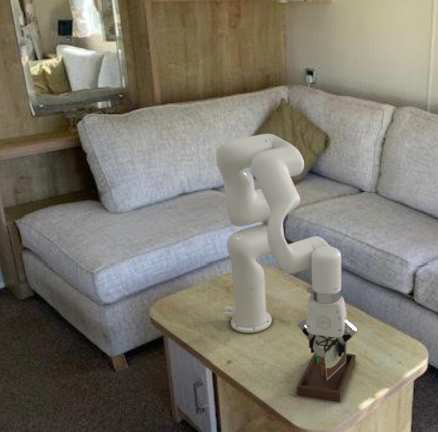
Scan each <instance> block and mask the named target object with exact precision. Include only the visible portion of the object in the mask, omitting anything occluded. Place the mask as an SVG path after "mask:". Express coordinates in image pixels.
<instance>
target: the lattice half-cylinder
mask: <svg viewBox="0 0 438 432" xmlns="http://www.w3.org/2000/svg"><path fill="white" fill-rule="evenodd" d="M348 332H349V330H348V329H347V328H346V329H345V334H347V333H348ZM339 342H340V341H339V339H338V338H337V337H328V336H321V335H316V338H315V340H314V343H313V350H314V353H316V357H317V365H318V373H319V375H320V376H321V377H322V378H323V379H325V380H328V379H329V378H330V377H331V376H332V375H333V374H334V373H335V372H336V371H337V370H339V369H340V368H341V367H342V366H343V365H344V364H345V363H346V353H347V349H348V348H347V347H348V341H347V342H346V350H345V353H343V354H342V356H341V357H339V356H338V344H339Z"/></svg>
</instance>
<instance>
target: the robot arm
mask: <svg viewBox="0 0 438 432" xmlns="http://www.w3.org/2000/svg"><path fill="white" fill-rule="evenodd" d="M215 158H216V164H217V168H218V170H219V173H220V176H221V177H222V181H223V185H224V186H223V187H224V194H225V201H226V202H225V203H226V208H227V209H226V210H227V215H228V219H229V221H230V223H231V224H232V226H234V227H246V226H249V227H246V228H242V229H240V230H237V231H235V232H233V233H231V234H230V235H229V236H228V238H227V241H226V250H227V253H228V256H229V260H230V265H231V266H230V267H231V274H232V287H233V299H234V301H233V302H234V306H227V305H224V307H223V312H224V314H223V315H224V317H225V316H226V317H231V320H230V326H231V327H232V328H233V330H235V331H237V332H239V333H244V334H253V333H258V332H259V333H260V332H262V331H264V330H266V329H267V328H269V327H270V326H271V324H272V321H273V320H272V315H271V314H270V313H269V312H268V311H267V302H266V301H267V300H266V299H267V297H266V280H265V279H266V277H265V270H264V268H263V266H262V265H261V264H260V263H258V259H260V258H262V257H265V256H269V255H271V254H272V256H273V258H274V260H275V262H276V264H277V266H278V267H279V269H280V270H281V271H282V272H283V273H285V274H288V275H293V274H297V273H299V272H302V271H305V270H307V269H310V268H311V286H308V287H307V288H306V293H308V294H310V296H309V298H308V302H307V310H306V316H305V317H304V318H301V320H299V321H298V323H297V325H296V326H297V327H298V329H300V330H301V331H302V333H303V335H304V336H305V337H306V338H307V340H308V348H309V349H310V354H314V353H315V352H314V350H313V343H314V340H315V338H316V336H317V335H321V336H328V337H337V338H338V339H339V341H340V342H339V344H338V356H339V357H341V356H342V354H343V353H345V350H346V351H347V349H346V342H347V343H348V341H349V340H350V339H352V337H353V336H355V335H356V334H357V332H358V329H357V327H355V326H354V325H353V324H352V323H351V322H350V321H348V319H347V318H348V317H347V307H346V302H345V299H344V296H342V253H341V251H340V250H339V249H338V248H336V247H334V246H331V245H329V243H328V242H327V241H326V240H325V239H324V238H322V237H321V236H317V235H315V236H310V237H308V238H307V237H306V238H304V239H301V240H298V241H294V242H292V243H288V242H287V240H286V238H285V234H284V224H283V223H284V219H285V218H286V217H287V215H288V214H289V213H291V212H292V211H293V210H294V209H295V208H297V207H298V205H299V204H300V202H301V196H300V194H299V192H298V190H297V188H296V186H295V184H294V181H293V180H292V177H297V176H299V175H301V174H302V173H303V171H304V168H305V162H304V161H305V160H304V158H303V156H302V154H301V152H300V150H299V149H297V147H296V146H295V145H293V144H291V143H290V142H288V141H286V140H284V139H283V138H281V137H279V136H277V135H275V134H272V133H261V134H257V135H251V136H244V137H240V138H235V139H234V138H233V139H231V140H227V141H224V142H223V143H221V144H220V145H219V146H218V148H217V149H216V154H215ZM248 168H251V171H252V173H253V175H254V176H253V175H252V173H251V171H249V169H248ZM254 177H255V179H256V182H257V184H258V186H259V188H257V189H255V180H254ZM260 222H261V223H260ZM256 223H260V224H257V225H254V224H256ZM251 225H254V226H251ZM345 329H347V331H348V333H347V334H345Z"/></svg>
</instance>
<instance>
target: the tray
mask: <svg viewBox="0 0 438 432" xmlns="http://www.w3.org/2000/svg"><path fill="white" fill-rule="evenodd" d="M356 355H357V354H354V353H348V352H346V363H345V364H344V365H343V366H342V367H341V368H340V369H339V370H337V371H336V372H335V373H334V374H333V375H332V376H331V377H330V378H329V379H328V380H325V379H323V378H322V377H321V376H320V375H319V373H318V365H317V357H316V353H315V352H314V353H313V355H312V357H311V359H310V361H309V363H308V364H307V366H306V368H305V370H304V372H303V374H302V376H301V378H300V380H299V382H298V383H297V386H296V396H299V397H305V398H311V399H312V398H313V399H319V400H324V401H331V402H337V403H338V402H339V403H341V401H342V398H343V395H344V393H345V390H346V388H347V385H348V383H349V381H350V378H351V376H352V373H353V370H354V368H355V365H356V363H357V362H356V358H357V356H356Z"/></svg>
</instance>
